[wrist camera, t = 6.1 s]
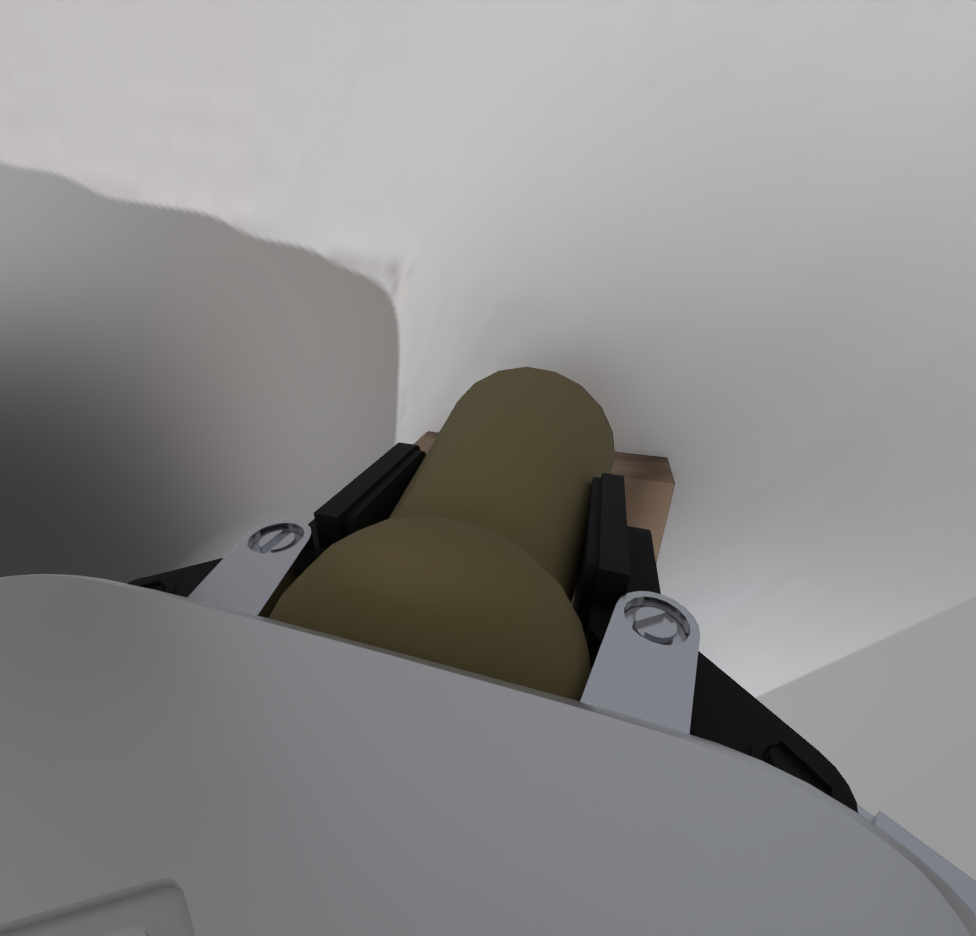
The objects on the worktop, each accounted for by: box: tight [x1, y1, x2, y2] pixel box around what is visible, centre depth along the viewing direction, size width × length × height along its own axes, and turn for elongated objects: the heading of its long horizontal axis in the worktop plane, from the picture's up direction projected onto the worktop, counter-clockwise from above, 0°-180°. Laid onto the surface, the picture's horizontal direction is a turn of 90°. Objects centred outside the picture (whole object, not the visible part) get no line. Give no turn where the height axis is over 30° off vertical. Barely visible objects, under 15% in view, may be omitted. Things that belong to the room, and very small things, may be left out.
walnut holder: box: [413, 432, 675, 606], centre depth 33 cm, size 18×18×4 cm
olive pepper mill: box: [269, 367, 615, 702], centre depth 10 cm, size 6×6×11 cm
